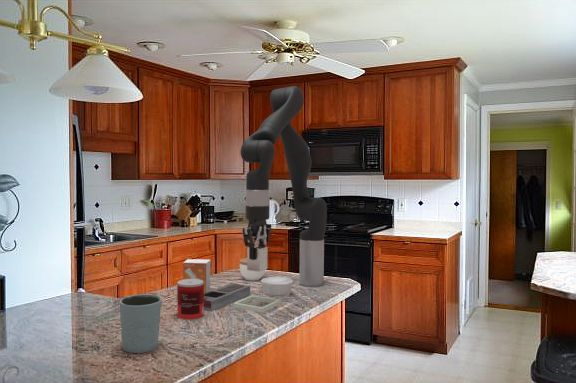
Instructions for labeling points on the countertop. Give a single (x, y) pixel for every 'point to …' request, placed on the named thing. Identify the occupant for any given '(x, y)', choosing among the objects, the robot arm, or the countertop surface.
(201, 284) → the canned food
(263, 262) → the cube with dark knob
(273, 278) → the ramekin
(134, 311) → the grey-green cup
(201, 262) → the small box
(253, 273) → the lidded jar
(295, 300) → the countertop surface
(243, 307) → the parts tray
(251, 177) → the robot arm
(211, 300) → the grey compartment tray
